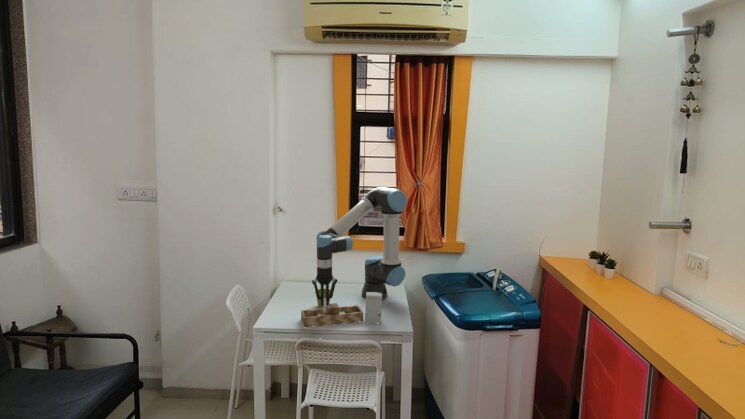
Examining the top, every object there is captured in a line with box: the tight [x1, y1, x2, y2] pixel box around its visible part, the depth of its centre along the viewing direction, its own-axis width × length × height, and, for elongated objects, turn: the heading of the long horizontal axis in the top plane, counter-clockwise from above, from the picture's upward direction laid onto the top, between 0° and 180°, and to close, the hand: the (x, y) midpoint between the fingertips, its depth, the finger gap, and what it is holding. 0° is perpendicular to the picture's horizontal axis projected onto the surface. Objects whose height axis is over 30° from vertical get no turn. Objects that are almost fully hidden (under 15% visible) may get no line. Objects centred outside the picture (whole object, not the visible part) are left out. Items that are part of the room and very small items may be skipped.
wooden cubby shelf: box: [300, 304, 364, 328], centre depth 230 cm, size 30×10×5 cm, turn 106°
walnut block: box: [325, 302, 340, 315], centre depth 229 cm, size 6×6×5 cm
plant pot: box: [314, 287, 331, 309], centre depth 248 cm, size 9×9×9 cm
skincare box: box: [364, 292, 383, 325], centre depth 229 cm, size 8×6×15 cm
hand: (324, 311), depth 228 cm, fingers closed
